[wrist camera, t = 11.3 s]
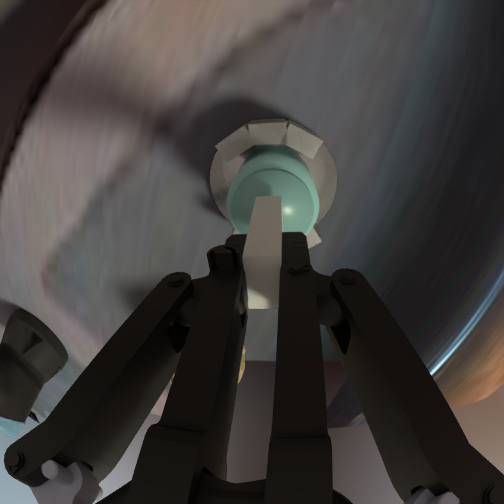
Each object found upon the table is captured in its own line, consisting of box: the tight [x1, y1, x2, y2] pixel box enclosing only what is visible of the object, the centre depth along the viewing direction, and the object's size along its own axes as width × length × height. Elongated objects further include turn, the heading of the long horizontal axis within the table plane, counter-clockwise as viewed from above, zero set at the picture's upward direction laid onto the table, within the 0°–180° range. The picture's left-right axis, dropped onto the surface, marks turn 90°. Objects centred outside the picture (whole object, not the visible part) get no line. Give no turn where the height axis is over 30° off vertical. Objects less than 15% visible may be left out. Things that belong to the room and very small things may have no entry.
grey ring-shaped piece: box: [210, 118, 337, 249], centre depth 22 cm, size 10×10×4 cm
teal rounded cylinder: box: [226, 146, 319, 235], centre depth 20 cm, size 6×6×6 cm
